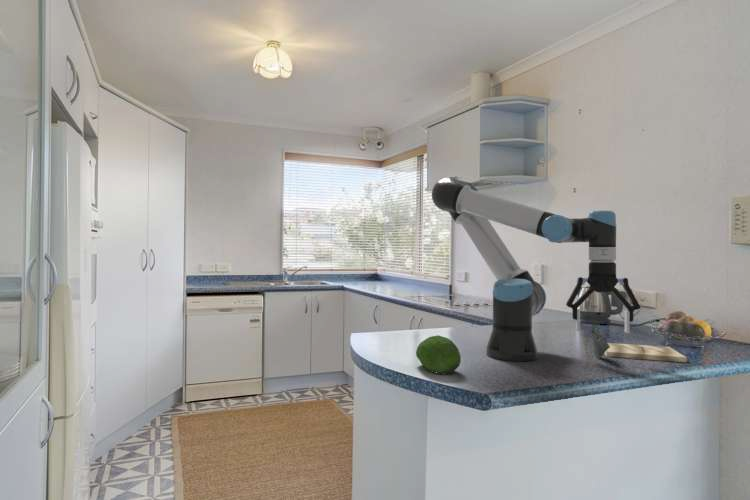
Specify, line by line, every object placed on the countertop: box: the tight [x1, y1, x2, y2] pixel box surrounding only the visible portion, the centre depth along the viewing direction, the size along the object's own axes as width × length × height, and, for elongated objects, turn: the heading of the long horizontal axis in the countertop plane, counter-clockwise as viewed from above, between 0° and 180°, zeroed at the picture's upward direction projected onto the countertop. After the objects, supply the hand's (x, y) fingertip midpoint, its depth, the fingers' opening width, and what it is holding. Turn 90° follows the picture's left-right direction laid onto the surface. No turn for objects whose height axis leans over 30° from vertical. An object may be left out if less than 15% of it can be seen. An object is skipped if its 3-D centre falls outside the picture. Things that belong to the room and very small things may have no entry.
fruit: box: [415, 335, 462, 374], centre depth 126 cm, size 15×10×10 cm, turn 22°
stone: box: [591, 325, 610, 359], centre depth 143 cm, size 11×4×10 cm, turn 168°
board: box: [603, 342, 688, 363], centre depth 153 cm, size 22×16×2 cm
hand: (602, 331), depth 143 cm, fingers open, 13 cm apart
